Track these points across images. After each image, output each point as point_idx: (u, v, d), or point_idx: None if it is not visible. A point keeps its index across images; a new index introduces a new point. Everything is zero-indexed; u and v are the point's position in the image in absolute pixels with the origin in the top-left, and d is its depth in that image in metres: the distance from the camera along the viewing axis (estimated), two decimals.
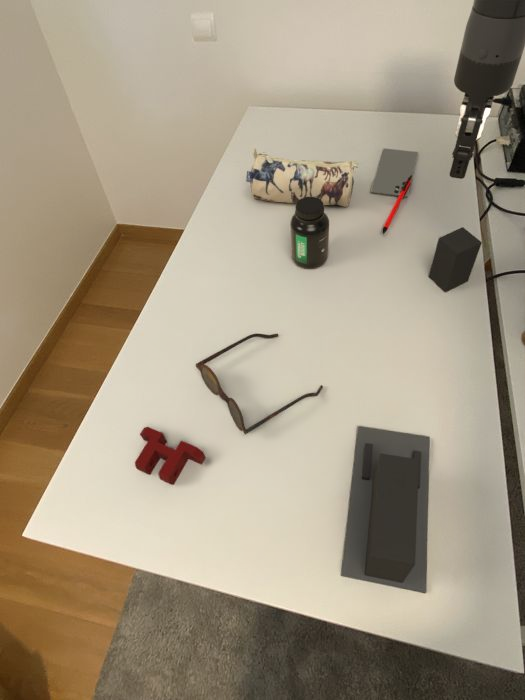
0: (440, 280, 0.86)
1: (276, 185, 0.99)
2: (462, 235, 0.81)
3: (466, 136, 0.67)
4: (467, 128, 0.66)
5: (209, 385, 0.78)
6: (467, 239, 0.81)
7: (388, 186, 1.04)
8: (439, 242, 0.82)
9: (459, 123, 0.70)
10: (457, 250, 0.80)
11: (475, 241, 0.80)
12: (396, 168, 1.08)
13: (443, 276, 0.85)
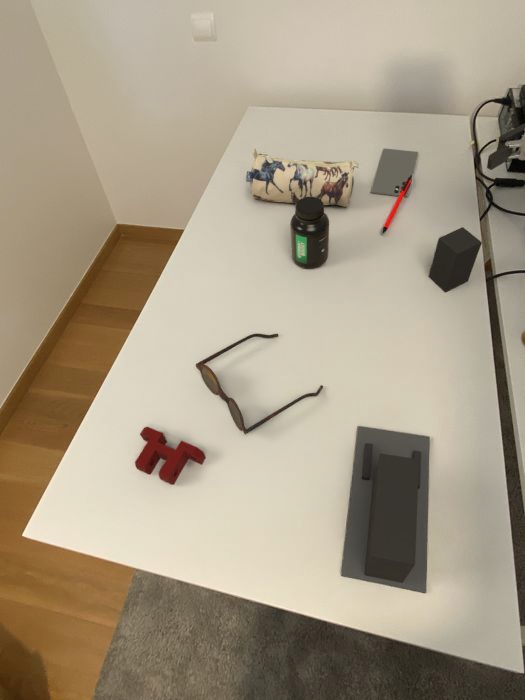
0: (440, 280, 0.86)
1: (276, 185, 0.99)
2: (462, 235, 0.81)
3: None
4: None
5: (209, 385, 0.78)
6: (467, 239, 0.81)
7: (388, 186, 1.04)
8: (439, 242, 0.82)
9: None
10: (457, 250, 0.80)
11: (475, 241, 0.80)
12: (396, 168, 1.08)
13: (443, 276, 0.85)
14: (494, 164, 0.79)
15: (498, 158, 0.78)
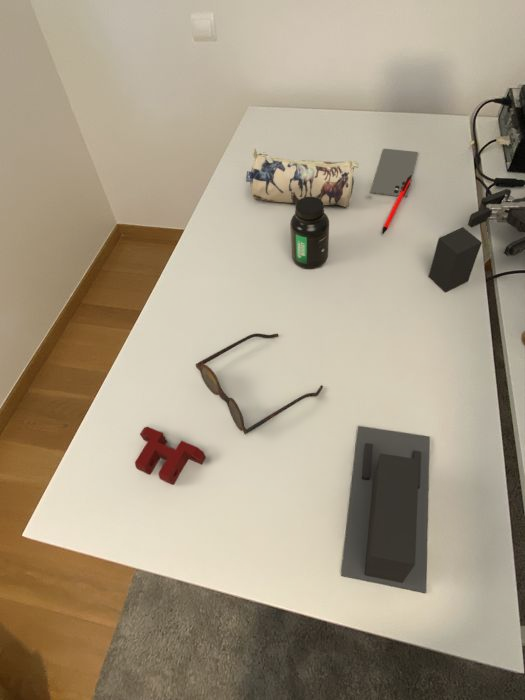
0: (440, 280, 0.86)
1: (276, 185, 0.99)
2: (462, 235, 0.81)
3: None
4: None
5: (209, 385, 0.78)
6: (467, 239, 0.81)
7: (388, 186, 1.04)
8: (439, 242, 0.82)
9: None
10: (457, 250, 0.80)
11: (475, 241, 0.80)
12: (396, 168, 1.08)
13: (443, 276, 0.85)
14: (474, 222, 0.87)
15: (478, 218, 0.86)
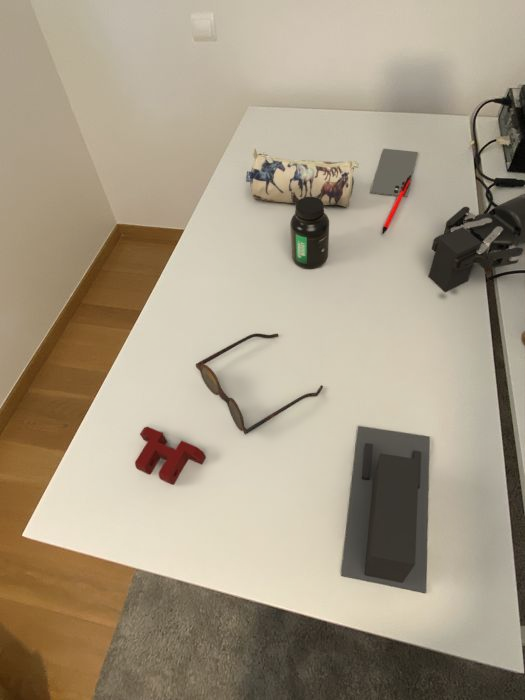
0: (440, 280, 0.86)
1: (276, 185, 0.99)
2: (462, 235, 0.81)
3: (507, 259, 0.80)
4: (514, 257, 0.80)
5: (209, 385, 0.78)
6: (467, 239, 0.81)
7: (388, 186, 1.04)
8: (439, 242, 0.82)
9: (494, 239, 0.81)
10: (457, 250, 0.80)
11: (475, 241, 0.80)
12: (396, 168, 1.08)
13: (442, 276, 0.85)
14: None
15: None
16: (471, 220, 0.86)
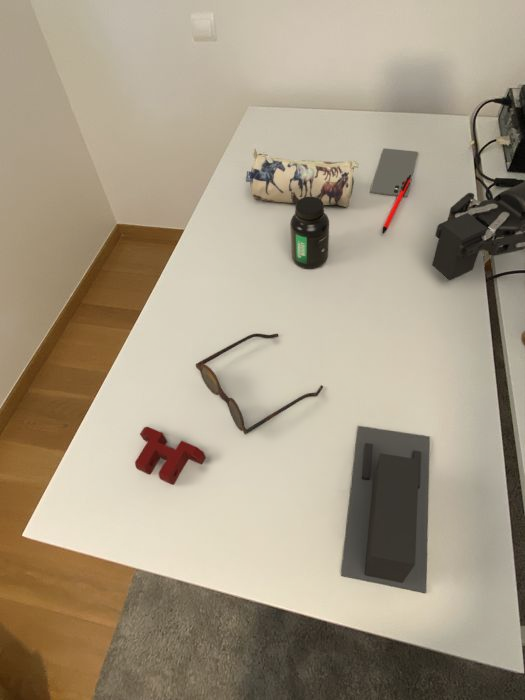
0: (444, 268, 0.83)
1: (276, 185, 0.99)
2: (467, 221, 0.79)
3: (514, 245, 0.78)
4: (521, 243, 0.77)
5: (209, 385, 0.78)
6: (472, 225, 0.78)
7: (388, 186, 1.04)
8: (443, 228, 0.79)
9: (500, 225, 0.78)
10: (462, 236, 0.77)
11: (480, 227, 0.78)
12: (396, 168, 1.08)
13: (447, 264, 0.82)
14: None
15: None
16: (476, 206, 0.84)
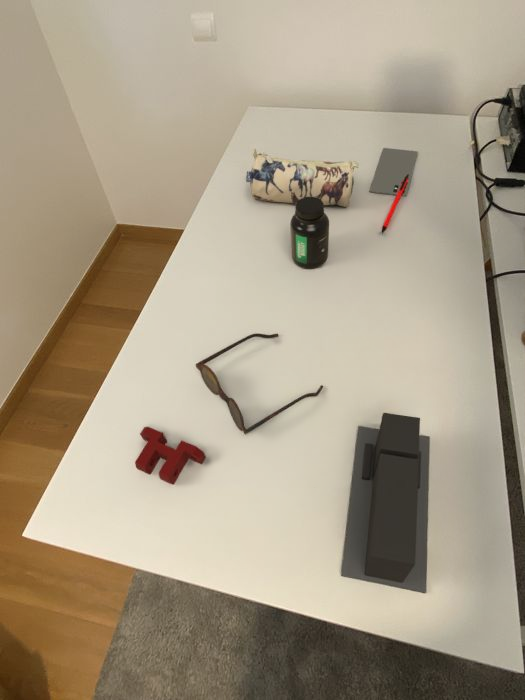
0: None
1: (276, 185, 0.99)
2: (396, 424, 0.62)
3: None
4: None
5: (209, 385, 0.78)
6: (404, 426, 0.62)
7: (387, 185, 1.04)
8: (383, 451, 0.61)
9: None
10: (413, 448, 0.60)
11: (414, 421, 0.62)
12: (396, 167, 1.08)
13: None
14: None
15: None
16: None
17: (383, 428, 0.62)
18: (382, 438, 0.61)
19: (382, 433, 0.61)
